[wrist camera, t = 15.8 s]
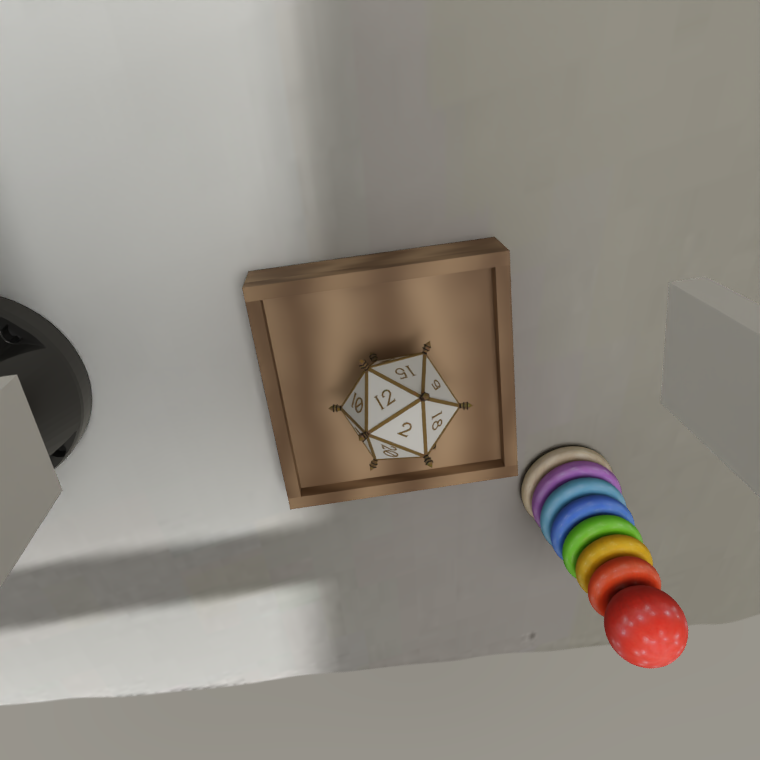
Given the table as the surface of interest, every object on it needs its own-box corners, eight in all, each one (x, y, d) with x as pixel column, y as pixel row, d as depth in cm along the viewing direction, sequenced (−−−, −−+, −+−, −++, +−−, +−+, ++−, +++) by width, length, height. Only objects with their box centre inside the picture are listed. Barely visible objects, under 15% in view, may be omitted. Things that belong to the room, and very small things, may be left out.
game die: (410, 374, 52) (469, 480, 48) (310, 402, 49) (363, 518, 45) (435, 297, 45) (508, 413, 40) (320, 324, 42) (384, 452, 37)
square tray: (292, 479, 55) (290, 509, 51) (248, 271, 47) (242, 288, 43) (504, 448, 55) (517, 475, 51) (494, 236, 48) (509, 250, 44)
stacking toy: (507, 461, 56) (588, 628, 39) (597, 428, 55) (719, 583, 38) (531, 530, 59) (616, 711, 42) (616, 500, 58) (737, 672, 41)
